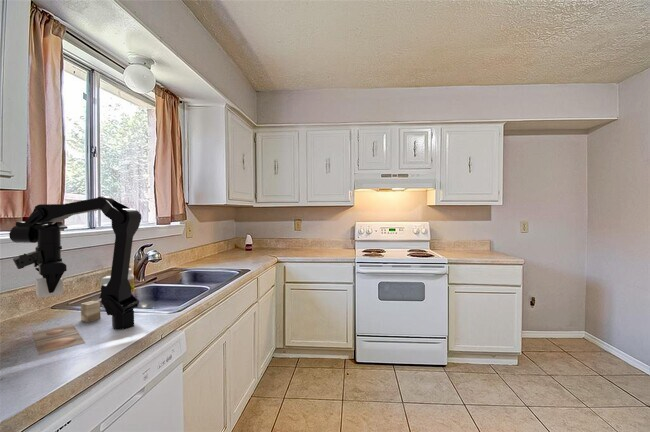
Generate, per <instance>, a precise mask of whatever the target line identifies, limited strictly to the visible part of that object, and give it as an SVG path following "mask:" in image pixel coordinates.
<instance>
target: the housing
mask: <svg viewBox="0 0 650 432" xmlns="http://www.w3.org/2000/svg"><path fill="white" fill-rule="evenodd" d="M35 295H36V296H37V298H38V299H40V298H47V297H54V296H55V297H56V296H61V295H64V279H63V278H62V277H61V279H60V281H59V282H58V284H57V286H56V288H55V290H54V292H53V293H49V291H48V287H47V283H46V279H45V278H43V277H42V278H36V279H35Z"/></svg>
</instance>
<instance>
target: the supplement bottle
mask: <svg viewBox="0 0 650 432" xmlns="http://www.w3.org/2000/svg"><path fill="white" fill-rule="evenodd" d="M132 270H133V269H132V268H130V267H129V272H128V281H129V283H130V285H131V294H132V295H133V296H134V297H135V275H134V274H133V273H132Z"/></svg>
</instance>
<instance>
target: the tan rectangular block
mask: <svg viewBox="0 0 650 432" xmlns="http://www.w3.org/2000/svg"><path fill="white" fill-rule="evenodd" d="M80 319H81V320H80V321H82V322H86V323H89V322H93V321H97V320H100V319H101V301H97V300H91V301H86V302H82V303H80Z"/></svg>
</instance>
